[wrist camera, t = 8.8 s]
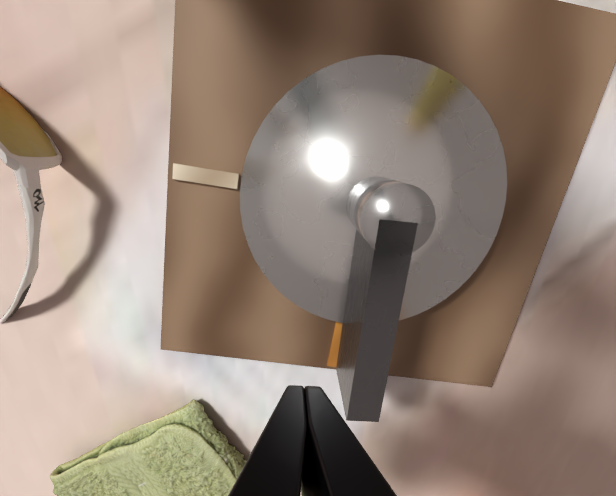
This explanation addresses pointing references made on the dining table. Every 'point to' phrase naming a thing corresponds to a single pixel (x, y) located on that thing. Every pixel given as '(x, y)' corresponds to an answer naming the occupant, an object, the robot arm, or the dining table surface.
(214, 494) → the washcloth
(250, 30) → the dial base
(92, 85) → the dining table surface
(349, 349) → the dial
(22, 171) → the sunglasses
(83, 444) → the dining table surface
